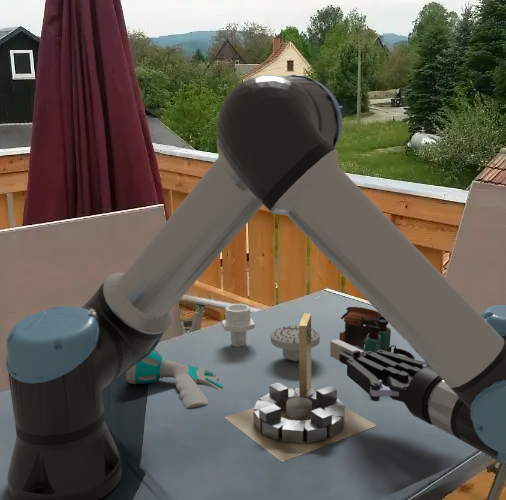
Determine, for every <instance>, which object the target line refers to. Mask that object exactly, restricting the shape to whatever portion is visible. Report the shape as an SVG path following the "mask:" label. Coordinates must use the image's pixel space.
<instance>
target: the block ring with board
mask: <svg viewBox="0 0 506 500" xmlns="http://www.w3.org/2000/svg"><path fill="white" fill-rule="evenodd" d="M298 326H299V361H298V371H299V372H298V373H299V374H298V375H299V376H298V377H299V378H298V379H299V380H298V381H299V385H298V387H296V388H295V390H294V389H293V387H290V388H289V387H287V386H285V385H283V384H282V383H280V382H274V383H272V384H269V386H268V387H269V393H267V394H265V395H263V396H261V397H260V398H258V400H257V401H256V402H255V404H254V407H253V408H254V409H253V414H254V424H255V425H256V427H257V428H258V430H259V431H260V432H262V433H263V434H264V435H266V436H269V437H271V438H273V439H276V440H280V439H282V442H293V443H303V441H304V440H305V441H306V442H307V443H311V442H316V441H321V440H326V439H327V437H328V438H331V437H332V436H334V435H335V434H337V433H338V432H340V431H341V430H342V428H343V426H344V420H345V404H343V403H342V401H341V400H340V399H339V398H338V390H337V389H336V388H335V387H332V386H330V385H329V386H326V387H322V388H319V389H317V390H316V389H315V388H312V348H311V328H312V313H309V312H308V313H307V312H304V313H303V315H302V317H301V320H300V322H299V324H298ZM314 389H315V390H316V391H315V392H314ZM294 397H304V398H307V399H309V400H311V401H312V411H311V419H310V420H305V421H298V420H288V419H285V418H283V417H281V411H282V410H284V409H286V402H287V400H288V399H290V398H294Z"/></svg>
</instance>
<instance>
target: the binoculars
mask: <svg viewBox="0 0 506 500" xmlns="http://www.w3.org/2000/svg"><path fill="white" fill-rule="evenodd" d="M377 323H378V327H377V326H373V325H369V329H368V330H369V333H368V335H367V337H366V339H364V342H363V343H364V347H363V348H364V349H363V351H366V352H367V351H372V352H374V353H377V350H384V351H388V352H391V353H395V354H398V355H401V356H405V357H408V358H412V359H415V360H416V357H415V356H414V355H413V354H412V353H411V352H410V351H407V350H405V349H402V348H397V345H394V344H392V345H391V335H392V331H391V330H392V329H391V328H390V327H387V326H388V325H389V323H388V321H387V320H386V319H385V318H384V317H383V316H382V315H381V316H379V317H378V318H377ZM392 347H393V349H392ZM392 350H393V351H392ZM385 358H386V357H385Z"/></svg>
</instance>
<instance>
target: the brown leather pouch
mask: <svg viewBox="0 0 506 500" xmlns="http://www.w3.org/2000/svg"><path fill="white" fill-rule="evenodd" d="M379 316H382V315H381V314H380V313H379V312H378V311H377V310H374V309H371V308H367V307H360V306H348V307H347V308H346V312H345V313H344V314H343V315H342V316H341V317H340V320H343V322H344V331H343V332H341V331H340V332H339V340H341V341H343V342H345V343H347V344H349V345H352V346H354V347H359V348H365V345H364V343H363V342H364V339H366V337H367V335H368V333H369V330H368V329H369V325H373V326H377V327H378V323H377V318H378V317H379Z"/></svg>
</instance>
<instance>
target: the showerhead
mask: <svg viewBox="0 0 506 500" xmlns="http://www.w3.org/2000/svg"><path fill="white" fill-rule="evenodd" d="M320 338H321V335H320V332H319V331H318V330H316V329H313V328H312V327H311V349H313V348H315V347H316V346H318V345H319V344H320V342H321V341H320V340H321V339H320ZM270 342H271V344H272V345H273V346H274V347H276V348H279V349H281V350H282V357H283V358H285V359H287V360H290V361H291V362H299V325H296V324H295V325H288V326H283V327H279V328H276V329H274V330H273V331H272V332H271V333H270Z"/></svg>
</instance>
